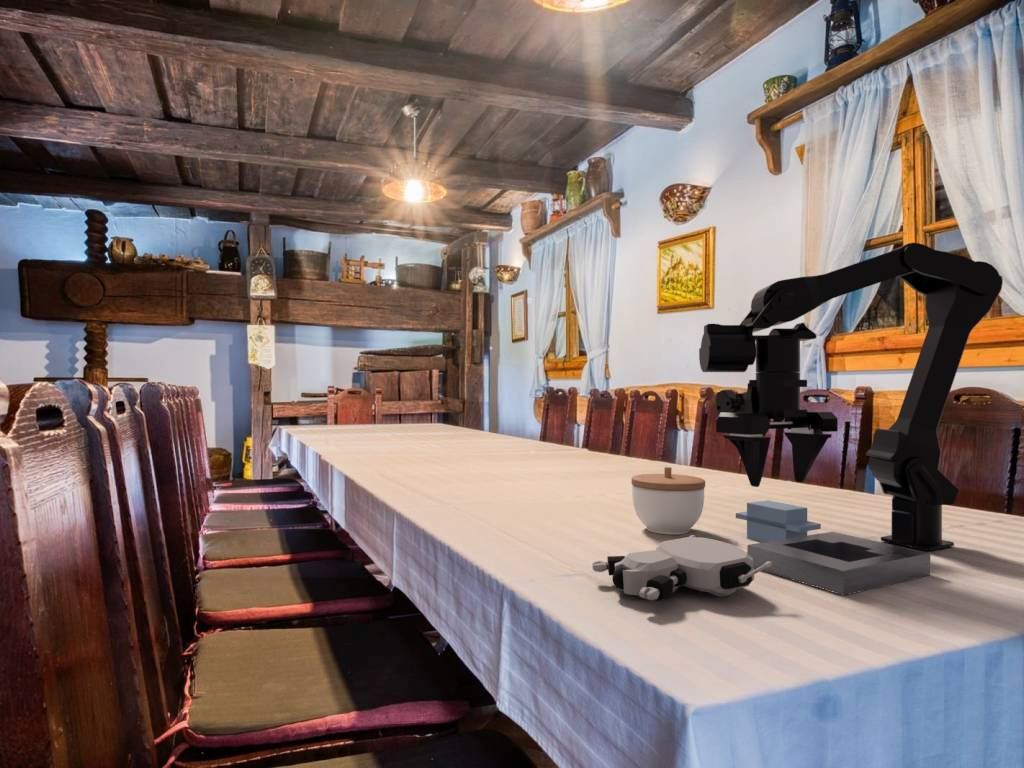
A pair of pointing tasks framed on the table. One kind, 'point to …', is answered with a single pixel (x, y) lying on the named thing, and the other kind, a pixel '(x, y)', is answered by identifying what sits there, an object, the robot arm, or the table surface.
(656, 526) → the lidded jar
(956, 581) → the table surface
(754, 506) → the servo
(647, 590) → the robot toy
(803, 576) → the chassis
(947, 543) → the robot arm
